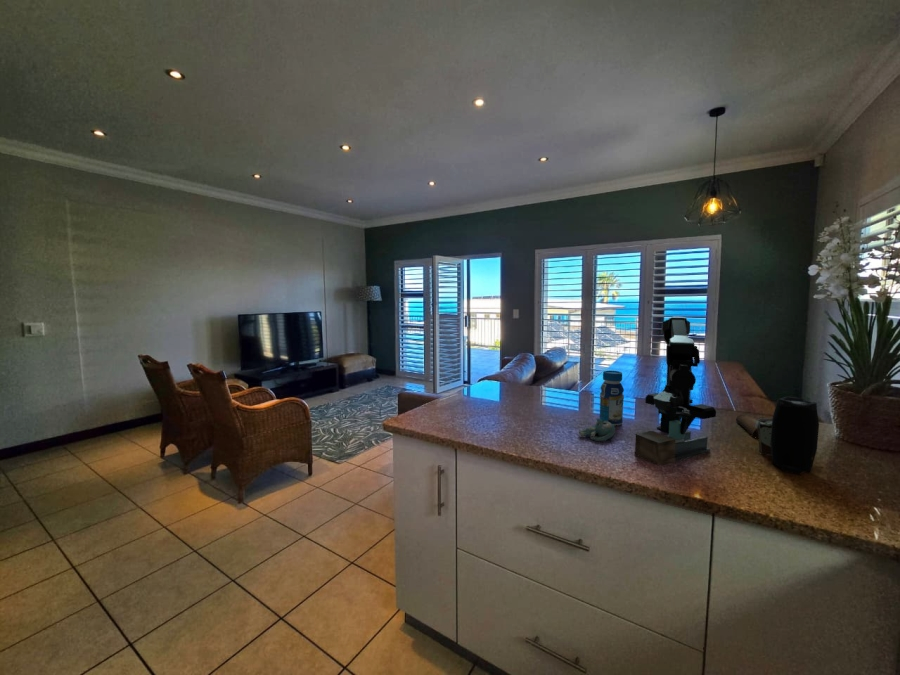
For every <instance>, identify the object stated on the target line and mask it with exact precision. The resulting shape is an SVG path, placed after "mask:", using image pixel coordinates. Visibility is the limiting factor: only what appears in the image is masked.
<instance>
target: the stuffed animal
mask: <svg viewBox="0 0 900 675" xmlns="http://www.w3.org/2000/svg"><path fill="white" fill-rule="evenodd" d="M615 428H616V427H615V426H614V425H613V424H611V423H610V422H608V421H602V420H601V419H600V418H596V421H595V426H587V427H586V428H585V429H584V430H583V429H582V430H578V434H579V436H580V437H587V436H588V437H590V440H591V441H595V442H600V441H603V442H606V441H607V440H609V439H610V438H613V437H614V435H615V432H616V429H615Z"/></svg>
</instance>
